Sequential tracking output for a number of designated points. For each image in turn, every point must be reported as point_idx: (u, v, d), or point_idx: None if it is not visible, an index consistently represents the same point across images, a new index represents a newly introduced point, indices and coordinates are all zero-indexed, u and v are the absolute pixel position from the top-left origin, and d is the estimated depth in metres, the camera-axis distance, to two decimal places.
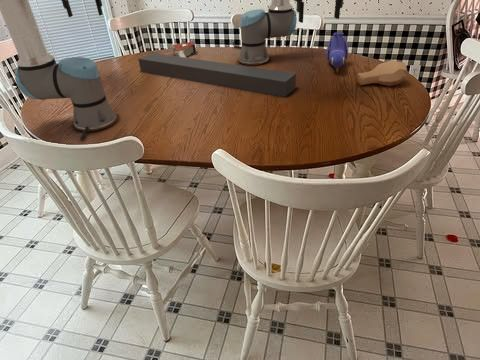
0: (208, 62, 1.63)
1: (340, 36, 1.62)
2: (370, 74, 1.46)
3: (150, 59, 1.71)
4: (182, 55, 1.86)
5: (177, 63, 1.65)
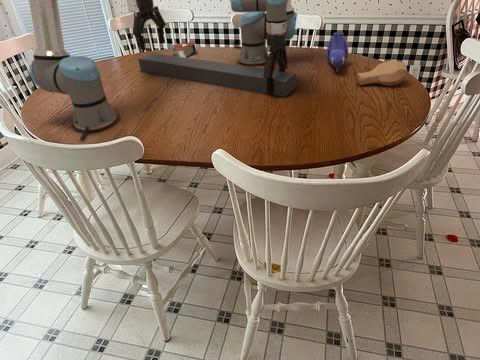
0: (208, 62, 1.63)
1: (340, 36, 1.62)
2: (370, 74, 1.46)
3: (150, 59, 1.71)
4: (182, 55, 1.86)
5: (177, 63, 1.65)
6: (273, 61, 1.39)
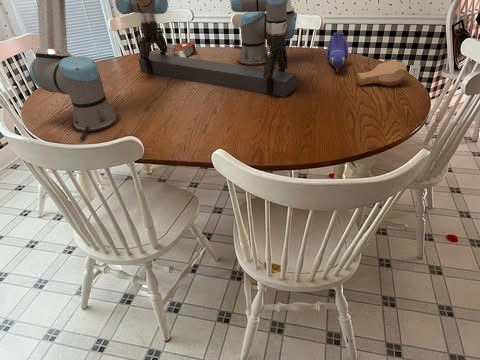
0: (208, 62, 1.63)
1: (340, 36, 1.62)
2: (370, 74, 1.46)
3: (150, 59, 1.71)
4: (182, 55, 1.86)
5: (177, 63, 1.65)
6: (273, 61, 1.39)
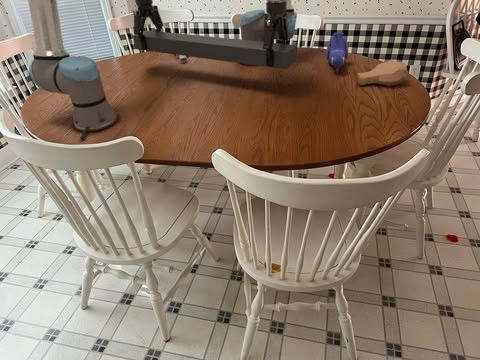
0: (205, 37, 1.57)
1: (340, 36, 1.62)
2: (370, 74, 1.46)
3: (145, 36, 1.64)
4: None
5: (173, 38, 1.58)
6: (273, 31, 1.32)
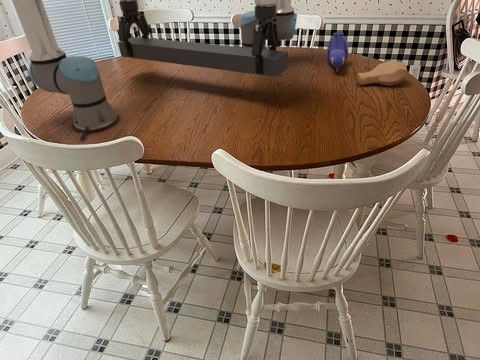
0: (192, 44, 1.49)
1: (340, 36, 1.62)
2: (370, 74, 1.46)
3: (130, 42, 1.57)
4: None
5: (159, 45, 1.51)
6: (262, 36, 1.24)
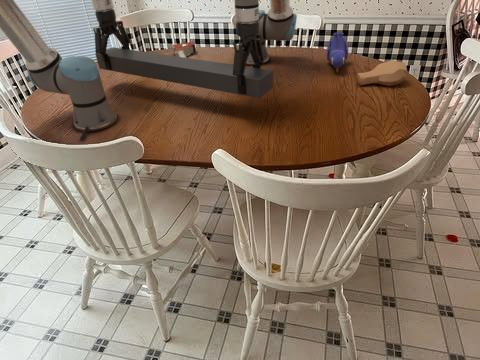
0: (173, 58, 1.40)
1: (340, 36, 1.62)
2: (370, 74, 1.46)
3: (108, 55, 1.48)
4: (182, 55, 1.86)
5: (138, 59, 1.42)
6: (244, 55, 1.16)
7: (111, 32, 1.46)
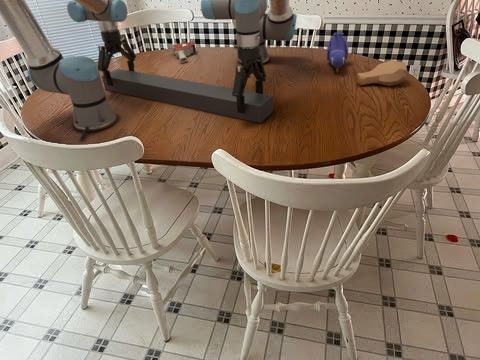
0: (177, 81, 1.46)
1: (340, 36, 1.62)
2: (370, 74, 1.46)
3: (114, 77, 1.54)
4: (182, 55, 1.86)
5: (143, 82, 1.47)
6: (245, 77, 1.20)
7: (116, 51, 1.51)
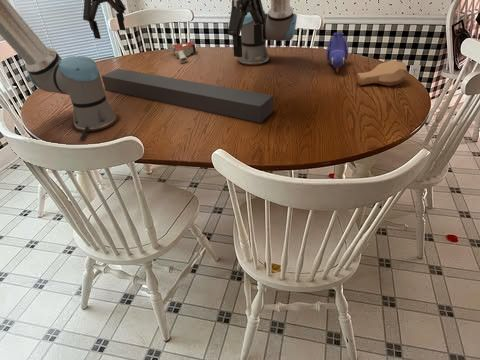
0: (177, 81, 1.46)
1: (340, 36, 1.62)
2: (370, 74, 1.46)
3: (114, 77, 1.54)
4: (182, 55, 1.86)
5: (143, 82, 1.47)
6: (242, 14, 1.08)
7: (103, 0, 1.39)
